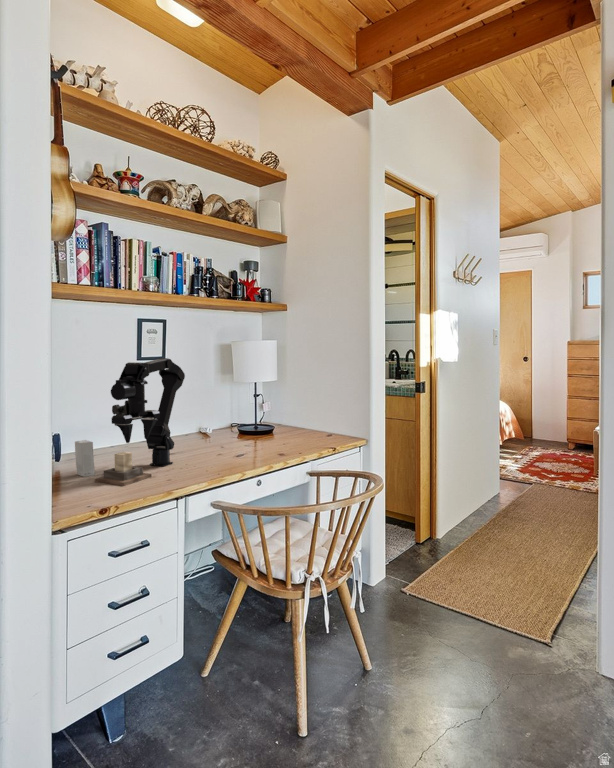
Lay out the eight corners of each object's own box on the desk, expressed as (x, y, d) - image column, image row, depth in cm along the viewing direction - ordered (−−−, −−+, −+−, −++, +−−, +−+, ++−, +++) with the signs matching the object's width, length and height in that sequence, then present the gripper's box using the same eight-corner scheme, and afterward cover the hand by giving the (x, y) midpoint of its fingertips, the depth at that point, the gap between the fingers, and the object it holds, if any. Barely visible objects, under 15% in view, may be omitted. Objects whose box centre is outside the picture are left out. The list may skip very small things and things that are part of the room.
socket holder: (123, 473, 179) (122, 463, 179) (151, 476, 174) (151, 466, 174) (94, 481, 167) (94, 471, 167) (124, 485, 162) (124, 475, 162)
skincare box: (95, 475, 176) (94, 441, 175) (82, 477, 173) (81, 443, 172) (87, 472, 180) (86, 439, 180) (75, 474, 177) (74, 441, 176)
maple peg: (123, 474, 173) (123, 451, 173) (132, 475, 172) (132, 452, 171) (115, 477, 170) (114, 454, 169) (123, 478, 168) (123, 455, 168)
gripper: (137, 394, 188) (138, 435, 189) (98, 398, 171) (100, 443, 172) (160, 395, 184) (161, 437, 185) (123, 400, 167) (124, 446, 168)
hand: (137, 440), depth 178 cm, fingers open, 9 cm apart
